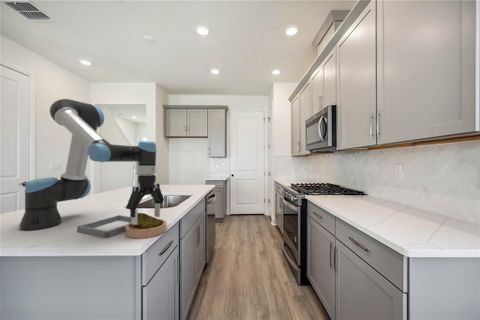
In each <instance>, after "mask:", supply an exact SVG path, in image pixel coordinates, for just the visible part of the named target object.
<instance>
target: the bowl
mask: <svg viewBox="0 0 480 320" xmlns="http://www.w3.org/2000/svg"><path fill="white" fill-rule="evenodd" d="M158 219H159V220H160V221H161V223H162V225H161V226H158V227H155V228H150V229H138V228H135V227H134V226H133V225H132V224H131V222H127V224H125V225H126V226H125V232H124V233H125V236H126V237H127V238H130V239H149V238H148V237H150V238H153V237H157V236H161V235H163V234H164V233H165V232H166V230H167V221H166V220H165V219H160V218H158Z"/></svg>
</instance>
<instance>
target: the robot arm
mask: <svg viewBox="0 0 480 320" xmlns="http://www.w3.org/2000/svg"><path fill="white" fill-rule="evenodd" d="M49 114H50V117H51V119H52V120H53V121H54V122H55V123H57V125H59V126H63V127H64V128H65V129H66V130H68V132H70V134H72V136H71V139H70V144H69V145H70V146H69V152H68V157H67V161H66V167H65V172H64V173H62V174H61V175H60V179H58V177H54V176H53V177H43V178H42V177H41V178H37V179H32V180H28V181H27V182H26V183H25V187H24V214H23V216H22V218H21V221H20V222H19V230H21V231H36V230H43V229H44V230H45V229H49V228H52V227H57V226H58V225H60V224H62V216H61V214H60V212H59V209H58V203H59V202H67V201H72V200H74V201H75V200H79V199H83V198H85V197H87V195H88V194H89V193H90V191H91V188H92V186H91V185H92V184H91V181H90V179H88V176H87V175H86V171H87V165H88V160H91V161H93V162H99V163H107V162H109V163H110V162H113V163H115V162H118V163H119V162H121V163H122V162H126V163H127V162H128V163H129V162H131V163H133V162H134V163H135V162H136V163H138V164H137V168H138V169H137V170H138V171H137V174H138V176H137V180H138V181H137V183H138V186H135V185H134V186H133V187H132V192H131V194H130V197H129V199H128V201H127V204H126V207H125V209H126V210H130V211H129V213H130V215H129V217H131V222H130V223H131V224H133V225H137V217H138V213H139V211H138V209H137V208H138V206H139V205H140V203H141V201H142V199H143V198H144V197H145V196H148V195H150V196H151V197H152V199H153V200H154V201H155V203H154V218H160V217H161V206H162V205H161V204H163V203H164V202H165V199H164V196H163V193H162V190H161V187H160V183H156V182H157V181H156V179H157V177H156V174H157V173H156V172H157V170H156V169H157V167H156V164H157V163H156V162H157V143H156V142H155V141H148V140H147V141H146V140H145V141H144V140H140V141H139V142H138V145H122V144H121V145H120V144H113V143H112V144H111V143H110V142H109V141H108V140H106V139H105V138H104V137H103V136H102V135H101V134H100V133H99V132H97V130H98V128H101V127H102V125H104V121H105V115H104V112H103V110H102V109H101V108H100V107H99V106H96V105H94V104H91V103H86V102H82V101H78V100H73V99H71V98H70V99H69V98H62V99H58V100H55V101H54V102H53V103H52V104H51V106H50V107H49ZM88 158H89V159H88Z"/></svg>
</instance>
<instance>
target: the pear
mask: <svg viewBox="0 0 480 320" xmlns="http://www.w3.org/2000/svg"><path fill="white" fill-rule="evenodd" d="M159 219H160V218H158V217H155V216H152V215H149V214H147V213H144V212H138V217H137V225H133V224H132V225H133V226H134V227H135V228H138V229H150V228H155V227H158V226H161V225H162V223H161V221H160V220H159Z"/></svg>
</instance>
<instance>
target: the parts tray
mask: <svg viewBox="0 0 480 320" xmlns="http://www.w3.org/2000/svg"><path fill="white" fill-rule="evenodd" d="M118 221H119V222H127V223H131V217H130V216H129V215H128V216H127V215H122V214H121V215H120V214H119V215H115V216H110V217H108V218H104V219H100V220H95V221H93V222H88V223H86V224H85V223H84V224H80V225H78V226H77V227H76V228H77V229H76V232H77V233H81V234H86V235H90V236H95V237H100V238H104V239H109V238H110V237H114V236H116V235H119V234H122V233H125V226H126V225H127V224H125V225H122V226H119V227H116V228H112V229H108V230H104V229H99V228H98V227H100V226H104V225H108V224H112V223H115V222H118Z"/></svg>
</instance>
